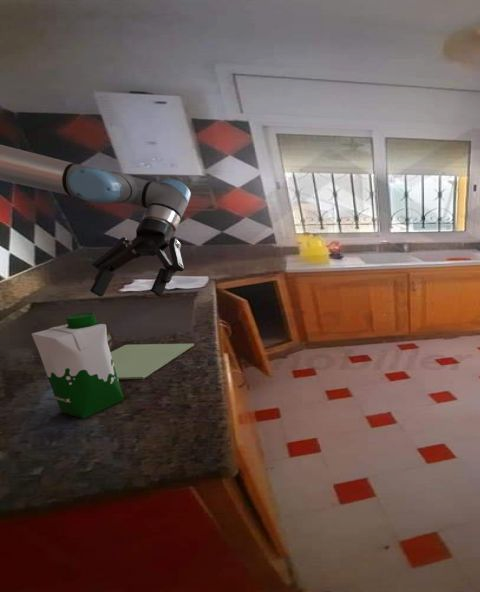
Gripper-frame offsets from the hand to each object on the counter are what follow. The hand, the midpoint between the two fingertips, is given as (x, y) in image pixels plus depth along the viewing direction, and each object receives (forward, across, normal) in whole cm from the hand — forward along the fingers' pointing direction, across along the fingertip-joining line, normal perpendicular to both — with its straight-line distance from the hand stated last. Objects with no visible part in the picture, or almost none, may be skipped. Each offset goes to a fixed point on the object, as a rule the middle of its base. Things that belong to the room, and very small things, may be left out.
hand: (126, 293), depth 76 cm
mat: (+10, +8, -20) cm, 24 cm away
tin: (+10, +22, -20) cm, 32 cm away
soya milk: (+25, 0, -5) cm, 26 cm away
